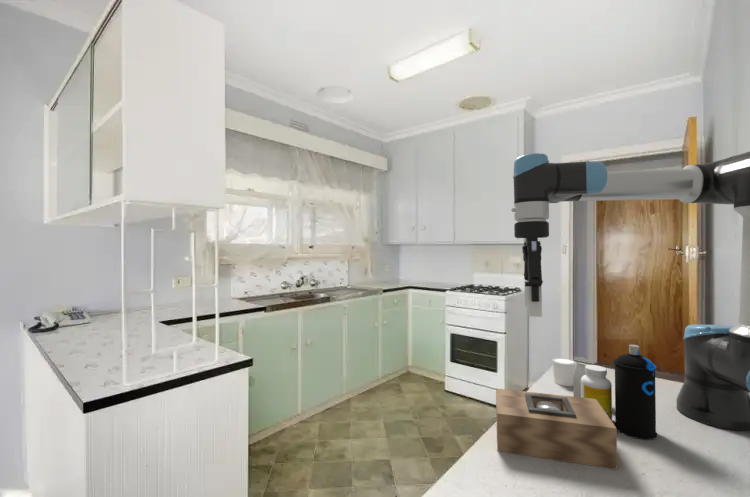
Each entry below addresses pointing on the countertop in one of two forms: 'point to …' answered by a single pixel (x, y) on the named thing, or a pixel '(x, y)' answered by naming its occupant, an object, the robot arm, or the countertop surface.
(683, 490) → the countertop surface
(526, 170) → the robot arm
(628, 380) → the aerosol can
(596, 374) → the supplement bottle
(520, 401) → the socket block
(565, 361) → the white cup
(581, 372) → the grey boxy piece
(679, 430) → the countertop surface
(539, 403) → the peg
